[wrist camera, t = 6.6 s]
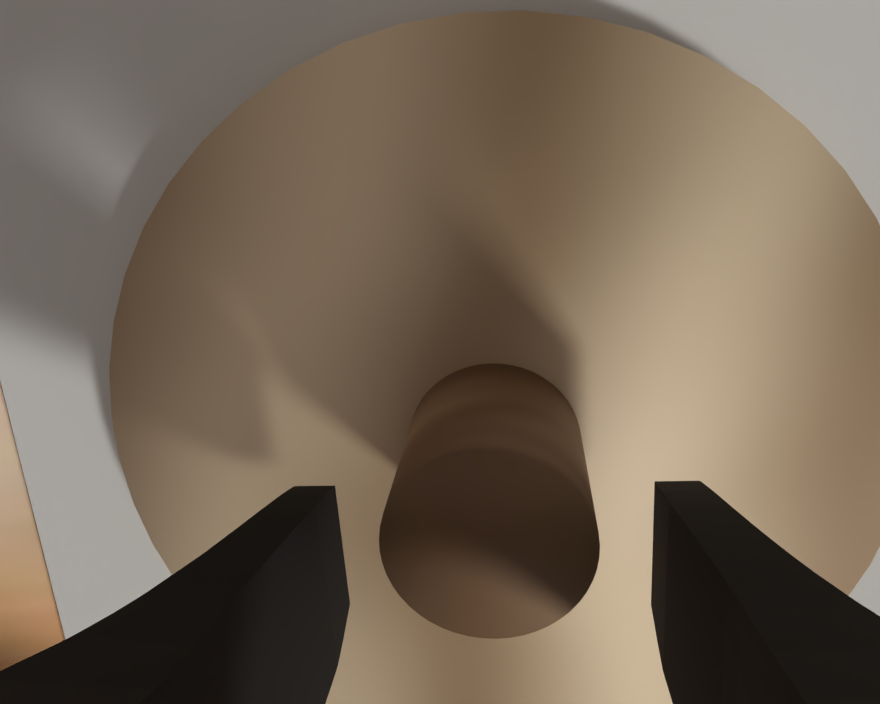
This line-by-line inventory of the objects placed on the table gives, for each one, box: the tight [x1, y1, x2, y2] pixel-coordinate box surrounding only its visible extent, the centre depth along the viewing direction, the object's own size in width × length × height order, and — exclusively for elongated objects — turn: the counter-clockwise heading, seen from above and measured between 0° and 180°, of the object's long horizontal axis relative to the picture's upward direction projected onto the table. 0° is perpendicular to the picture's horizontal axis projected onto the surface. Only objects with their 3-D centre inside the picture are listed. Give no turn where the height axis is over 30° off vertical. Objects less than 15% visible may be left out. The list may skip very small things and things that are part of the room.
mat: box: [0, 0, 880, 640], centre depth 14 cm, size 18×16×1 cm
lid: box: [109, 10, 880, 704], centre depth 12 cm, size 13×13×4 cm
